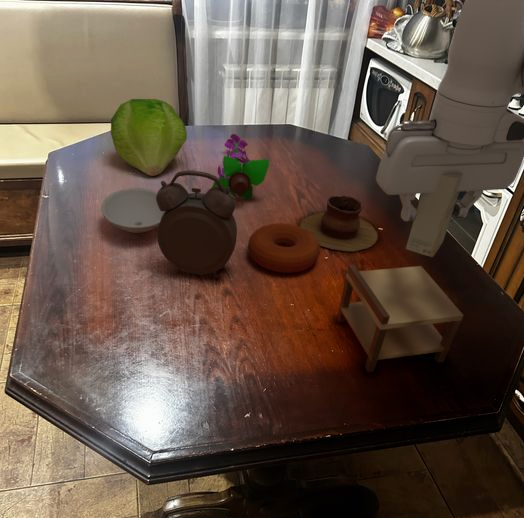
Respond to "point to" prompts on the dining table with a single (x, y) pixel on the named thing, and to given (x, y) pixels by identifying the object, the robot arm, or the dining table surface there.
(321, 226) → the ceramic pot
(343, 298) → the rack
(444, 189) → the cosmetic box
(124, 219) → the dish
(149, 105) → the lettuce
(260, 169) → the potted plant
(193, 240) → the alarm clock
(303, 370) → the dining table surface
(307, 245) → the donut
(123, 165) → the dining table surface
